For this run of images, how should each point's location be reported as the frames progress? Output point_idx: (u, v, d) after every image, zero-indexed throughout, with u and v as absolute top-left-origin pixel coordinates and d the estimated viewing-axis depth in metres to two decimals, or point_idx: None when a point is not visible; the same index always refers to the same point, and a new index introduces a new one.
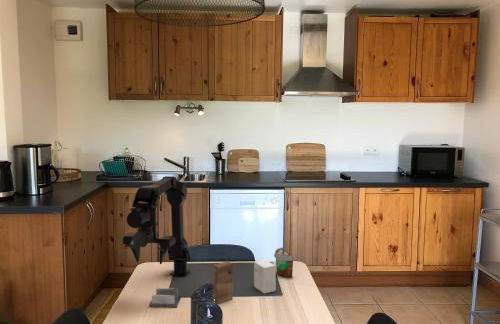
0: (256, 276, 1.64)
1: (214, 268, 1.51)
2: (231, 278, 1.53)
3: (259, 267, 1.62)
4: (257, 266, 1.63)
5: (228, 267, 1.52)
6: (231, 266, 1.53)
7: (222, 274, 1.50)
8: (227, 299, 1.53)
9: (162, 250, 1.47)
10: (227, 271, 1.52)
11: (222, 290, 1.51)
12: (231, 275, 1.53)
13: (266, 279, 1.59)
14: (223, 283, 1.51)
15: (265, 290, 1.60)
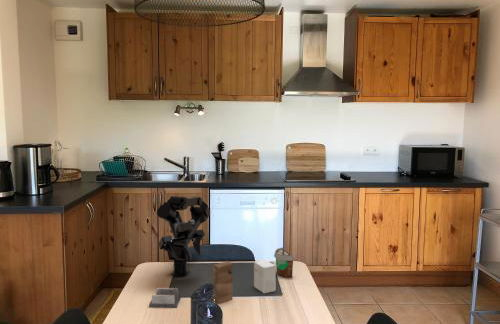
0: (256, 276, 1.64)
1: (214, 268, 1.51)
2: (231, 278, 1.53)
3: (259, 267, 1.62)
4: (257, 266, 1.63)
5: (228, 267, 1.52)
6: (231, 266, 1.53)
7: (222, 274, 1.50)
8: (227, 299, 1.53)
9: (199, 239, 1.69)
10: (227, 271, 1.52)
11: (222, 290, 1.51)
12: (231, 275, 1.53)
13: (266, 279, 1.59)
14: (223, 283, 1.51)
15: (265, 290, 1.60)
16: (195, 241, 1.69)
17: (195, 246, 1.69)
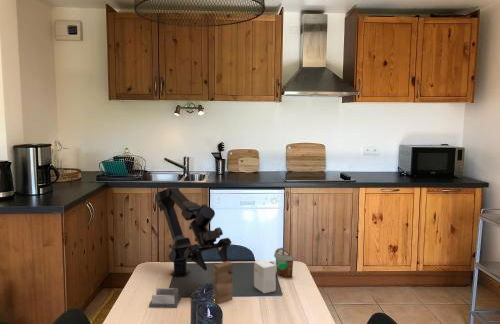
0: (256, 276, 1.64)
1: (214, 268, 1.51)
2: (231, 278, 1.53)
3: (259, 267, 1.62)
4: (257, 266, 1.63)
5: (228, 267, 1.52)
6: (231, 266, 1.53)
7: (222, 274, 1.50)
8: (227, 299, 1.53)
9: (226, 248, 1.61)
10: (227, 271, 1.52)
11: (222, 290, 1.51)
12: (231, 275, 1.53)
13: (266, 279, 1.59)
14: (223, 283, 1.51)
15: (265, 290, 1.60)
16: (221, 250, 1.62)
17: (221, 255, 1.61)
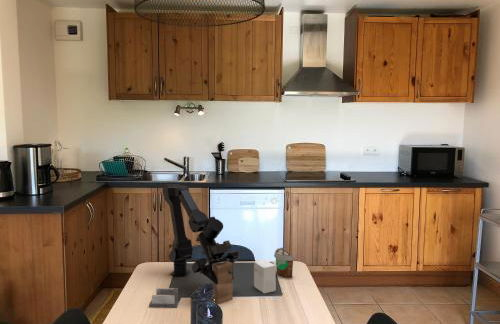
0: (256, 276, 1.64)
1: (214, 268, 1.51)
2: (231, 278, 1.53)
3: (259, 267, 1.62)
4: (257, 266, 1.63)
5: (228, 267, 1.52)
6: (231, 266, 1.53)
7: (222, 274, 1.50)
8: (227, 299, 1.53)
9: (232, 262, 1.56)
10: (227, 271, 1.52)
11: (222, 290, 1.51)
12: (231, 275, 1.53)
13: (266, 279, 1.59)
14: (223, 283, 1.51)
15: (265, 290, 1.60)
16: None
17: None
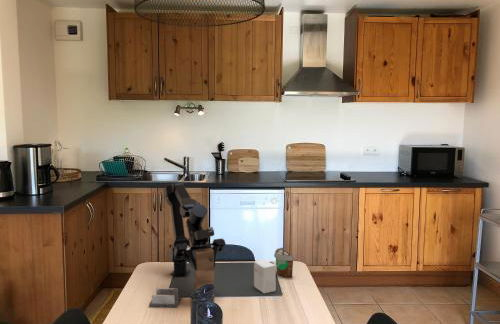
0: (256, 276, 1.64)
1: (194, 254, 1.49)
2: (212, 266, 1.50)
3: (259, 267, 1.62)
4: (257, 266, 1.63)
5: (209, 254, 1.49)
6: (212, 253, 1.49)
7: (202, 261, 1.48)
8: None
9: (216, 249, 1.53)
10: (208, 258, 1.49)
11: (202, 277, 1.48)
12: (212, 262, 1.50)
13: (266, 279, 1.59)
14: (203, 270, 1.48)
15: (265, 290, 1.60)
16: None
17: None
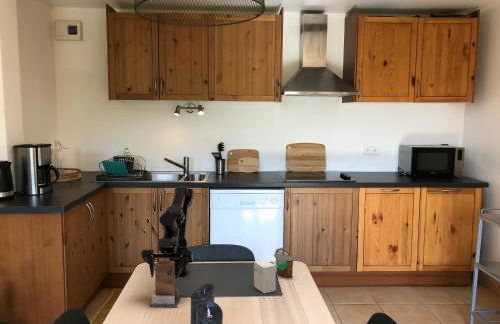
0: (256, 276, 1.64)
1: None
2: (171, 279, 1.49)
3: (259, 267, 1.62)
4: (257, 266, 1.63)
5: (168, 268, 1.48)
6: (171, 267, 1.48)
7: (160, 273, 1.49)
8: None
9: (182, 260, 1.51)
10: (166, 271, 1.49)
11: (160, 289, 1.49)
12: (171, 276, 1.49)
13: (266, 279, 1.59)
14: (162, 282, 1.49)
15: (265, 290, 1.60)
16: None
17: None
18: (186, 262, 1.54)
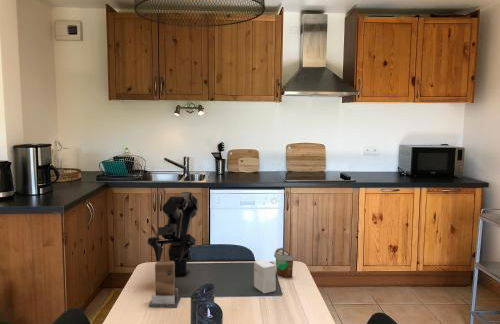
0: (256, 276, 1.64)
1: None
2: (171, 279, 1.49)
3: (259, 267, 1.62)
4: (257, 267, 1.63)
5: (168, 268, 1.48)
6: (171, 267, 1.48)
7: (160, 273, 1.49)
8: None
9: (182, 245, 1.59)
10: (166, 271, 1.49)
11: (160, 289, 1.49)
12: (171, 276, 1.49)
13: (266, 279, 1.59)
14: (162, 282, 1.49)
15: (265, 290, 1.60)
16: None
17: None
18: (188, 245, 1.61)
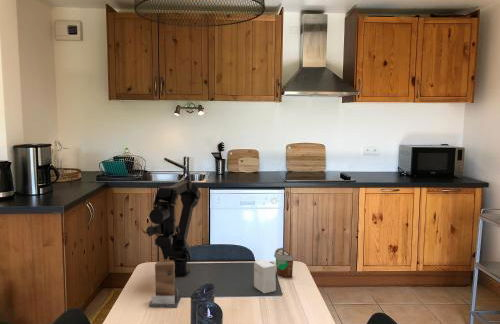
0: (256, 276, 1.64)
1: None
2: (171, 279, 1.49)
3: (259, 267, 1.62)
4: (257, 266, 1.63)
5: (168, 268, 1.48)
6: (171, 267, 1.48)
7: (160, 273, 1.49)
8: None
9: None
10: (166, 271, 1.49)
11: (160, 289, 1.49)
12: (171, 276, 1.49)
13: (266, 279, 1.59)
14: (162, 282, 1.49)
15: (265, 290, 1.60)
16: None
17: None
18: None
